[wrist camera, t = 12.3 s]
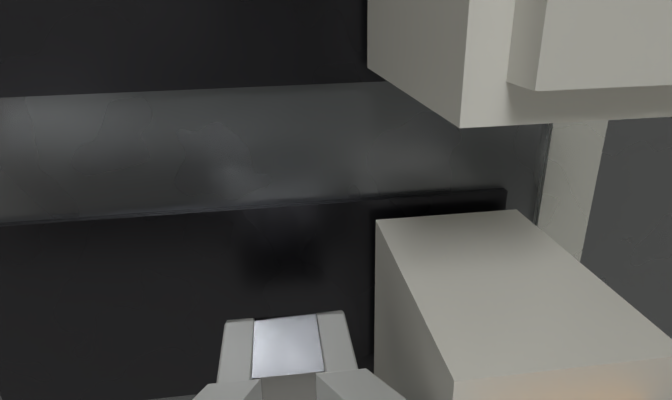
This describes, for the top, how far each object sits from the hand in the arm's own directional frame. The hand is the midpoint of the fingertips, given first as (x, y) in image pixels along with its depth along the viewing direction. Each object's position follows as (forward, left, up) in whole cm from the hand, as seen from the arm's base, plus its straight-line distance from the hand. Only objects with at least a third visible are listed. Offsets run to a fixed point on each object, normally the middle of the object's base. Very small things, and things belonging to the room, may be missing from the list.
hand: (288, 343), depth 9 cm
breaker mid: (0, +3, -1) cm, 4 cm away
